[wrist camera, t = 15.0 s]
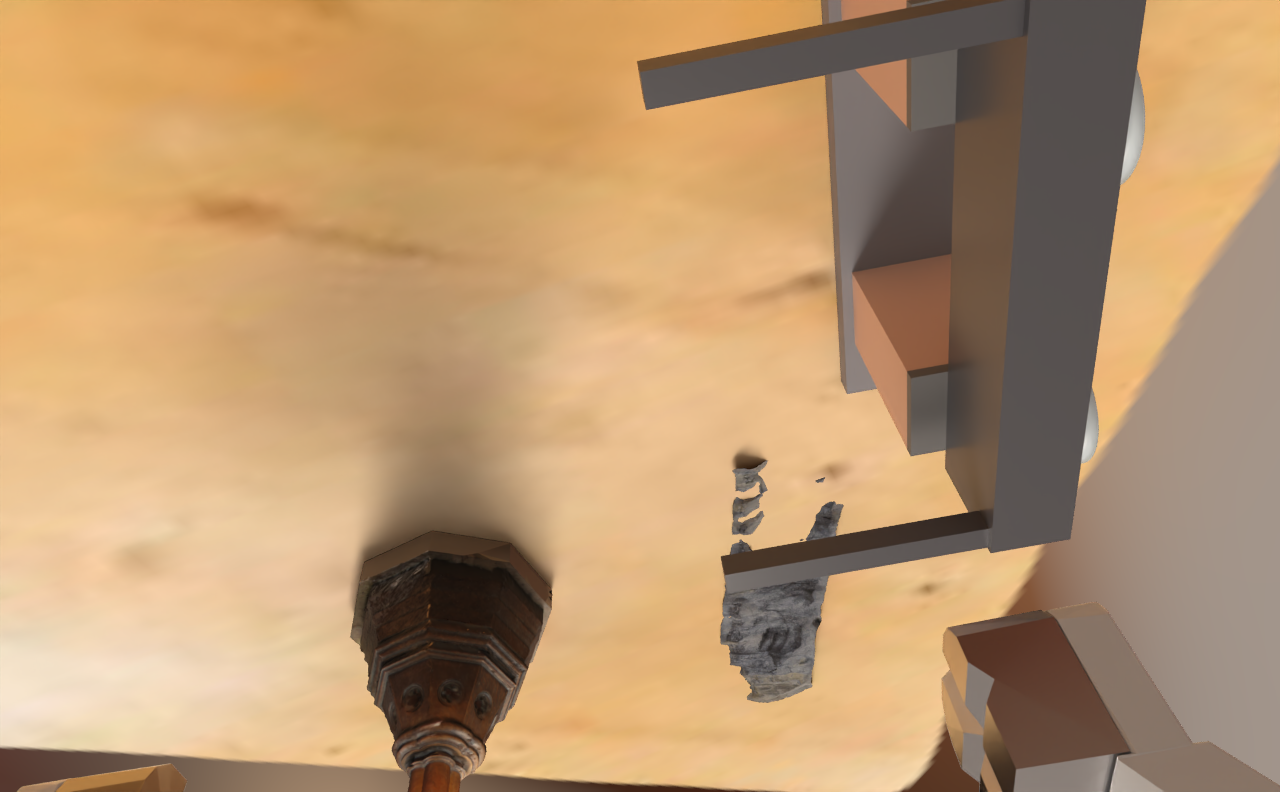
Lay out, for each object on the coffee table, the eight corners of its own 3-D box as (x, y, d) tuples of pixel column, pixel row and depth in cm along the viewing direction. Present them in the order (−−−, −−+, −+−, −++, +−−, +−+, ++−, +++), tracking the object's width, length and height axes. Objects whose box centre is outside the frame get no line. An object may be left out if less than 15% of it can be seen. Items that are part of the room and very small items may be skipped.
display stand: (841, 380, 49) (899, 510, 40) (813, -141, 35) (894, -102, 26) (975, 356, 48) (1060, 482, 40) (1001, -179, 34) (1141, -152, 26)
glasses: (710, 510, 40) (728, 599, 35) (627, 25, 28) (640, 75, 24) (1030, 452, 39) (1086, 536, 35) (1081, -65, 27) (1173, -30, 23)
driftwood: (806, 689, 64) (813, 716, 63) (707, 694, 64) (711, 721, 62) (852, 446, 52) (863, 471, 51) (730, 450, 52) (737, 475, 50)
